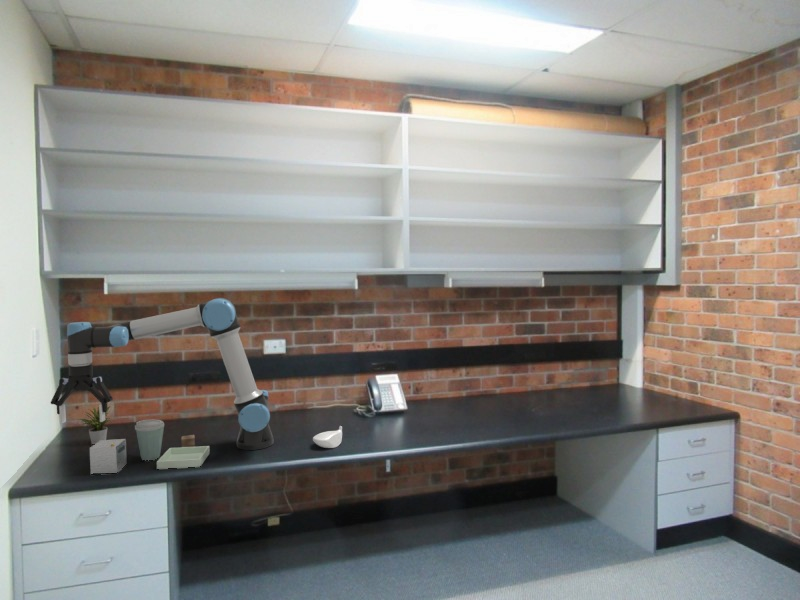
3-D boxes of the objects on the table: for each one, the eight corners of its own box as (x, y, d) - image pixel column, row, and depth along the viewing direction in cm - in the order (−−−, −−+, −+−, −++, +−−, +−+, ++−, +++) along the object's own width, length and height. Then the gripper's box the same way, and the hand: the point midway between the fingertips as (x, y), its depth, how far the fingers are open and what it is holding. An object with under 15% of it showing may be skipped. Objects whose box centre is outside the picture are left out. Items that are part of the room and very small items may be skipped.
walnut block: (194, 446, 219) (194, 434, 219) (195, 449, 214) (194, 438, 214) (181, 447, 217) (181, 436, 217) (181, 451, 212) (181, 439, 212)
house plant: (98, 436, 233) (96, 400, 233) (125, 437, 231) (124, 401, 230) (72, 446, 219) (71, 408, 219) (101, 448, 217) (99, 410, 216)
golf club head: (348, 425, 218) (323, 418, 213) (343, 451, 214) (317, 444, 209) (338, 427, 227) (313, 420, 222) (332, 452, 222) (307, 445, 217)
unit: (127, 464, 198) (126, 437, 197) (117, 473, 189) (116, 445, 188) (100, 466, 197) (99, 439, 196) (89, 475, 188) (88, 446, 187)
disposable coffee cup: (159, 452, 212) (158, 415, 211) (170, 458, 204) (169, 420, 204) (131, 458, 204) (130, 421, 203) (141, 465, 197) (140, 426, 196)
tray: (209, 453, 210) (209, 445, 209) (200, 467, 194) (199, 459, 194) (169, 455, 208) (169, 448, 208) (156, 469, 192) (156, 461, 192)
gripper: (120, 361, 194) (123, 417, 195) (49, 363, 191) (51, 420, 192) (112, 365, 187) (114, 423, 188) (37, 367, 184) (40, 426, 185)
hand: (82, 422), depth 190 cm, fingers open, 13 cm apart
